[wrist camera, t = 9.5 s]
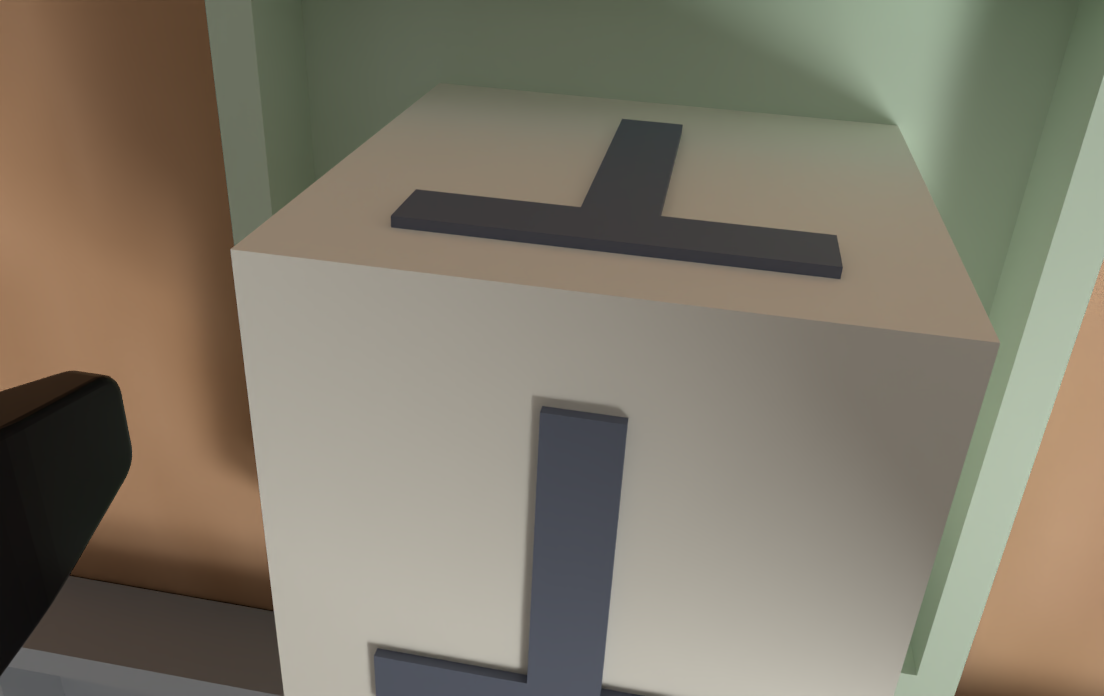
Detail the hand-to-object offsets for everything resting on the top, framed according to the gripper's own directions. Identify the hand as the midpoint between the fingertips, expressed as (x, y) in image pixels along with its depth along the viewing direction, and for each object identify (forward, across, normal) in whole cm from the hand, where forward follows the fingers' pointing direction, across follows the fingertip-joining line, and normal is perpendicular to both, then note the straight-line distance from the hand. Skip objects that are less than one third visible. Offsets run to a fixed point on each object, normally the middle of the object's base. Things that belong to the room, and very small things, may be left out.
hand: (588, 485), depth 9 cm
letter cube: (+4, 0, 0) cm, 4 cm away
